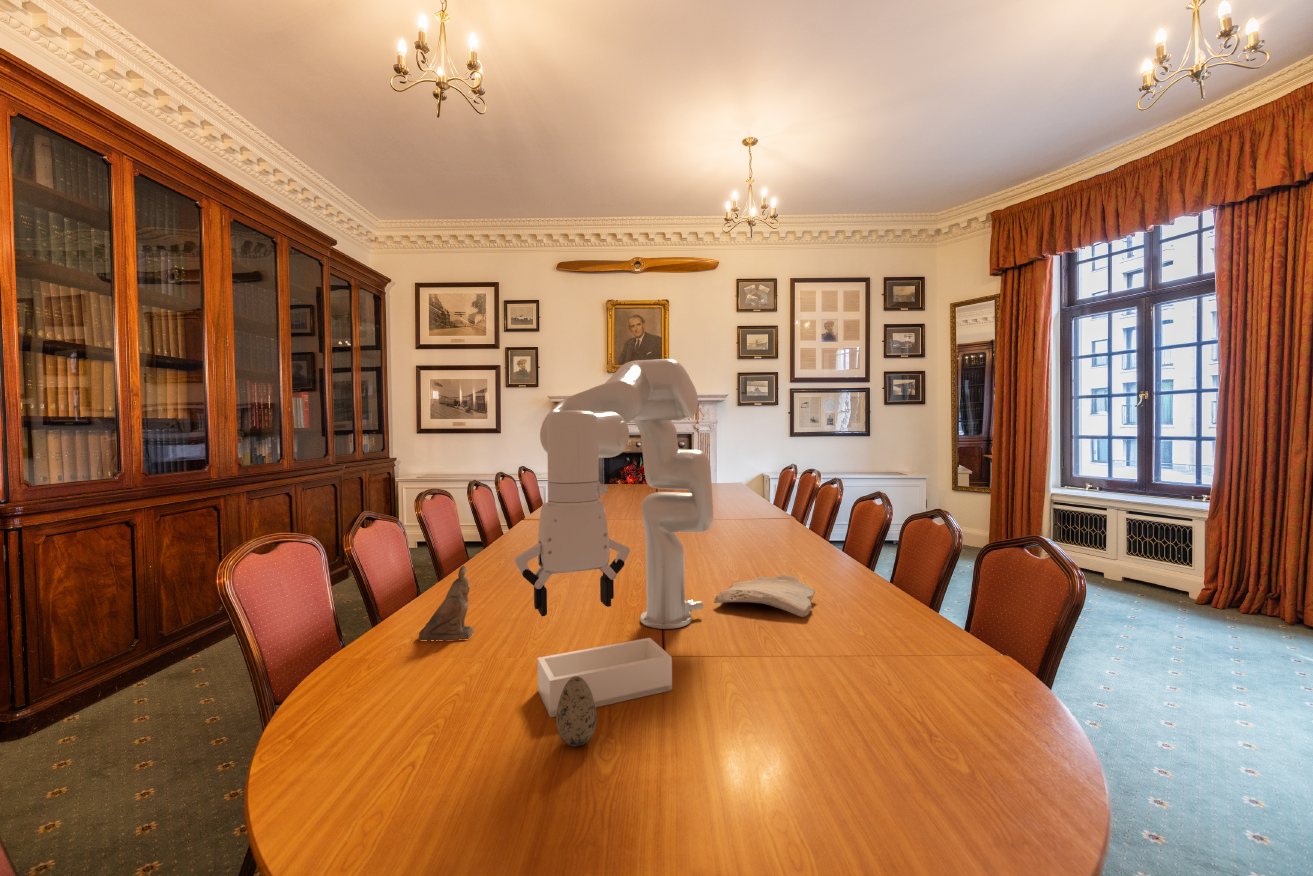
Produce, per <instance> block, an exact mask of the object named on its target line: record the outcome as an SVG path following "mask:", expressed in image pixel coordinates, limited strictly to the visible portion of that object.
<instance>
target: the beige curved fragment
mask: <svg viewBox="0 0 1313 876" xmlns="http://www.w3.org/2000/svg"><path fill="white" fill-rule="evenodd" d="M815 594H816V590H815V588H814V587H813V586H810V585H808V584H806V583H804V582H803V581H800V580H799V578H798V577H796V576H795V575H790V574H789V575H786V574H781V575H776V577H773V576H758V577H757V578H752V579H749V580H748V579H746V580H742V581H741V582H739V581H738V582H734V583H733V584H732V585H730V587H729V589H725V590H721V591H720V592H719V593H718V594H717V595H716V596H715V597H714V599H713V603H714V604H718V603H719V604H720V603H721V604H723V603H753V604H764V605H767V606H771V607H774V608H776V609H777V608H778V609H779V610H783V611H786V612H788V613H791V614H792V615H795V616H798V617H800V618H804V617H805V618H806V616H808V615H809V614H810V613H811V612H810V611H811V609H812V606H813V605H812V599H813V598H814V596H815Z"/></svg>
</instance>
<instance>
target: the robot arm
mask: <svg viewBox="0 0 1313 876" xmlns="http://www.w3.org/2000/svg"><path fill="white" fill-rule="evenodd" d="M698 403H699V398H698V393H697V390H696V387H695V384H694V383H693V381H692V379H691V378H690V376H689V373H688V372H687V370H686V369H685V367H684V366H683V365H682V364H681V363H680V362H678V360H675V359H672V358H662V359H661V358H659V359H657V358H655V359H641V360H639V359H637V360H636V359H635V360H631V361H627V362H626V363H624V364H622V365H620V367H618V369H617V370H616V371H615V372H614V373H613V374H612V376H610V377H609V379H608V380H607V381H605V382H604V383H602V384H599V385H596V386H594V387H591V388H589V389H586V390H583V391H581V392H578V393H576V394H573V395H571V396H568V397H566V398H564V399H563V400H561V401H560V402H559V403H557V404H556V405H555V406H554V407H553V408H552V409H551V410H550V411H549V412H548V413H547V414H546V416H545V417H544V419H543V421H542V424H541V427H540V433H539V438H540V443H541V446H542V448H543V450H544V451H545V452H546V454H547V502H545V503H542V505H541V508H540V515H539V522H538V523H539V524H538V531H537V532H538V536H537V543H536V544H534V545H533V546H531V547H530V548H529V549H526V550H525V551H523V552H522V553H520V554H518V555H517V556H515V557H514V560H513V561H514V563H515V565H516V566H517V569H518V570H519V572H520V574H521V575H522V577H523V578H524V580H526V581H527V582H529V583H530V585H532V586H533V606H534V609H535V610H537V612H538V613H539V614H540V616H541V617H546V616H547V615H548V590H547V587H546V586H545V584H546V582H547V581H548V580H549V578H550V577H552V575H553V574H554V575H558V574H559V575H560V574H566V573H567V574H568V573H575V572H585V571H592V570H593V571H594V570H600V572H602V575H600V580H599V581H600V582H599V585H600V586H599V589H600V591H599V593H600V595H599V597H600V598H599V600H600V602H601V604H603V605H604V606H605V607H606V608H609V607H611V606H612V599H614V597H615V594H614V593H615V591H614V590H615V589H614V580H615V579H616V578H617V575H619V572H621V570H622V569H623V568H624V567H625V563H626V561H627V560H628V559H627V558H628V556H629V554H630V552H631V549H630V547H628V546H626V545H624V544H621V543H620V542H618V541H615V540H613V539H611V538H609V537H610V536H609V528H608V527H609V526H608V521H607V516H606V515H607V514H606V509H605V505H604V502H603V501H602V500H600V499H601V496H602V495H604V494H607V493H609V487H608V484H603V483H601V481H600V479H599V478H600V477H599V476H600V475H599V473H600V472H599V468H600V467H599V466H600V465H599V464H600V463H599V461H600V460H599V459H603V458H607V459H608V458H609V459H610V458H613V457H616V456H619V455H621V454H622V453H623V452H624V451H625V449H626V448H627V446H628V444H629V440H630V429H629V426H628V422H631V421H632V422H633V423H634V424H635V426H636V427H637V429H638V431H639V434H640V438H641V448H642V449H641V451H642V460H643V469H644V477H645V482H646V483H647V485H648V486H649V487H650V488H652V489H653V488H654V489H658V490H685V491H686V490H687V491H689V492H678V491H674V492H673V491H657V492H652V493H650V494H648V495H647V496H646V497H644V499H643V501H642V503H641V518H642V522H643V528H644V536H645V537H644V539H645V565H646V566H645V569H646V570H645V572H646V573H645V579H646V580H645V581H646V591H645V592H646V611H643V612H642V613H641V615H640V619H639V620H640V622H641V624H642V625H644V626H646V627H650V628H653V629H657V630H658V629H660V630H661V629H662V630H670V629H672V630H673V629H678V628H682V627H686V626H688V625H690V624H691V622H692V620H693V619H692V614H691V612H693V611H698V610H703V608H704V603H703V601H700V600H699V601H694V600H693V599H691V600H686V574H685V573H686V571H685V569H686V566H685V565H686V562H685V558H686V557H685V547H684V545H683V543H682V541H681V540H680V538H679V536H678V535H677V534H676V533H678V532H680V533H681V532H682V533H705V532H708V531H709V530H710V529H711V527H712V525H713V522H714V503H713V502H714V500H713V487H712V485H713V484H712V470H711V464H710V463H711V462H710V460H709V456H708V455H707V453H705V452H704V451H703V450H700V449H680V448H679V445H678V433H677V429H676V426H675V424H674V422H672V421H687V420H690V419H692V418H693V417H694V416H695V415H696V413H697V410H698V405H699V404H698ZM610 549H611V550H613V551H615V552H616V553H617V555H616V558H615V559H613V561H612V562H611V563H610V564H609V562H610V554H611V553H610ZM534 558H537V564H538V566H539V568H538V569H537V570H536V572H535V573H534V572H533V571H532V570H530V567H529V566H528V563H529V562H530V561H531V560H533V559H534Z"/></svg>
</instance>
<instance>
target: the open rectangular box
mask: <svg viewBox="0 0 1313 876" xmlns="http://www.w3.org/2000/svg"><path fill="white" fill-rule="evenodd" d="M575 676H578V677H581V678H582V679H584V680H585V682H586V683H587V684H588V686H589V688H590V690H591V692H592V695H593V698H594V702H595V706H596V708H600V707H603V706H604V707H605V706H608V705H612V704H617V703H621V702H625V701H631V700H634V699H639V698H643V697H647V696H652V695H656V694H661V693H666V692H670V691H673V658H672V656H671V655H670V653H668V652H667V651H666V650H664V648H662V647H661V646H660V645H659V644H658V643H656V641H654V639H652V638H651V637H646V638H640V639H635V640H630V641H625V642H618V643H613V644H606V645H602V646H595V647H590V648H585V649H578V650H574V651H569V652H563V653H557V654H556V653H555V654H551V655H546V656H545V655H544V656H539V657H537V692H538V694H539V697H540V698H541V701H542V702H543V705H544V707H545V709H546V711H547V713H548V716H549V717H550V718H554V717H555V718H556V714H557V707H558V703H559V699H560V696H561V693H562V691H563V688H564V686H565V685H566V683H567V682H568V680H569V679H571V678H572V677H575Z"/></svg>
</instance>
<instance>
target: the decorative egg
mask: <svg viewBox="0 0 1313 876" xmlns="http://www.w3.org/2000/svg"><path fill="white" fill-rule="evenodd" d="M597 719H598V718H597V707H596V706H595V702H594V698H593V695H592V692H591V690H590V688H589V686H588V684H587V683H586V682H585V680H584V679H582V678H581V677H578V676H575V677H572V678H571V679H569V680H568V682H567V683H566V685H565V686H564V688H563V691H562V693H561V696H560V699H559V703H558V707H557V714H556V716H555V720H556V729H557V733H558V736H559V737H560V739H561V740H562V741H563V743H565V744H566V745H568V746H571V747H581V746H583V745H584V744H587V742H589V741H590V739H591V738H592V736H593V734H594V733H595V730H596V726H597V722H598V721H597Z"/></svg>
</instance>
